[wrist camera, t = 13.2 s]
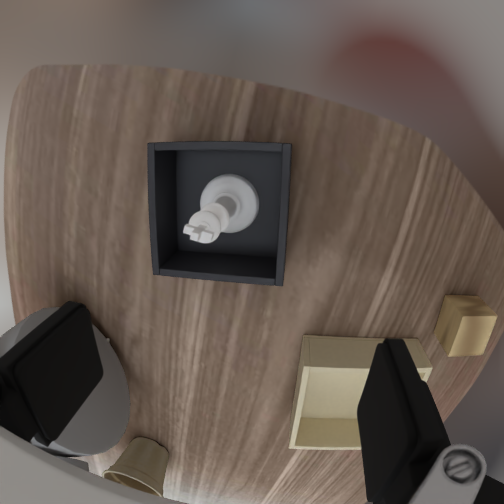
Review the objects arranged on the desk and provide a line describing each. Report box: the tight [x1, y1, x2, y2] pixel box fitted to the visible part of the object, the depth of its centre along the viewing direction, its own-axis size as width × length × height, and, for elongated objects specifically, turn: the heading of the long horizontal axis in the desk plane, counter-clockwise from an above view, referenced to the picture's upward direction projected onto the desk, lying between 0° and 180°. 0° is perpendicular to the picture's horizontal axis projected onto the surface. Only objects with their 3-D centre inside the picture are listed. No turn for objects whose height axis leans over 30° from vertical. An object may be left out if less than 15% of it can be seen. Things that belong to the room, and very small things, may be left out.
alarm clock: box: [0, 307, 130, 472], centre depth 24 cm, size 16×9×22 cm, turn 29°
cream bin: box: [289, 335, 433, 450], centre depth 29 cm, size 12×12×5 cm
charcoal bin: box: [148, 141, 292, 286], centre depth 25 cm, size 10×10×5 cm
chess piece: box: [183, 174, 259, 243], centre depth 22 cm, size 5×5×10 cm
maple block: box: [434, 295, 497, 357], centre depth 26 cm, size 4×4×4 cm
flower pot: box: [102, 437, 169, 498], centre depth 37 cm, size 9×9×9 cm
